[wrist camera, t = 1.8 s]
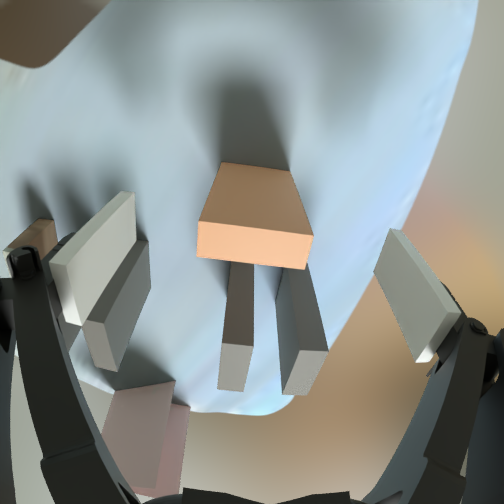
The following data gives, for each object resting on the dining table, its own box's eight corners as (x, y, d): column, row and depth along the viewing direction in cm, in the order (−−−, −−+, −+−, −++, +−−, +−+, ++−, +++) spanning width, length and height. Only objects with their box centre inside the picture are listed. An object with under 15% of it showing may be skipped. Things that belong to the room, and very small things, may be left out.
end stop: (51, 277, 27) (24, 314, 22) (38, 218, 24) (2, 251, 18) (66, 280, 27) (39, 319, 22) (53, 220, 24) (17, 254, 19)
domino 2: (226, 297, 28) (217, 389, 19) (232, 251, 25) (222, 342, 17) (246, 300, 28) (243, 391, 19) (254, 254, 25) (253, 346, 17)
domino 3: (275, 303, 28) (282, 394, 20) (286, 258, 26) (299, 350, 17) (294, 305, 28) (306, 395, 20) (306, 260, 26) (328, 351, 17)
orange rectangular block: (285, 193, 23) (304, 269, 14) (219, 185, 22) (196, 256, 14) (289, 171, 22) (313, 235, 13) (221, 162, 21) (198, 221, 13)
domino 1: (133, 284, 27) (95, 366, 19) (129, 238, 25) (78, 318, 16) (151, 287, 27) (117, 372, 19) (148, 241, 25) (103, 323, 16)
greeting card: (115, 393, 38) (90, 481, 25) (107, 365, 34) (72, 464, 22) (190, 409, 39) (177, 503, 26) (191, 383, 35) (175, 492, 23)
